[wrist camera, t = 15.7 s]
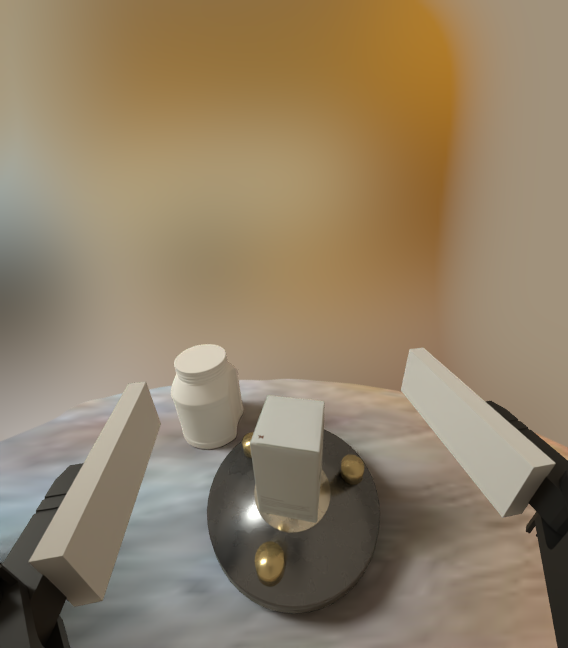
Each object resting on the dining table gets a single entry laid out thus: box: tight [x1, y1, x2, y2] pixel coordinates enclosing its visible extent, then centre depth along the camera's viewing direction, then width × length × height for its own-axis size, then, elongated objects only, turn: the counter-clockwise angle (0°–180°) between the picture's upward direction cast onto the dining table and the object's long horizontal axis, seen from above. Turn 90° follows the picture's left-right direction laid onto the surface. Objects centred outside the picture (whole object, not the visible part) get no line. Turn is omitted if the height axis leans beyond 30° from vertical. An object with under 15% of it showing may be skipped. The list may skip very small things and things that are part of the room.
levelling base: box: [207, 430, 380, 613], centre depth 36 cm, size 22×22×6 cm
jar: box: [171, 344, 244, 449], centre depth 47 cm, size 12×10×15 cm
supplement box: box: [250, 395, 324, 523], centre depth 32 cm, size 7×7×13 cm
